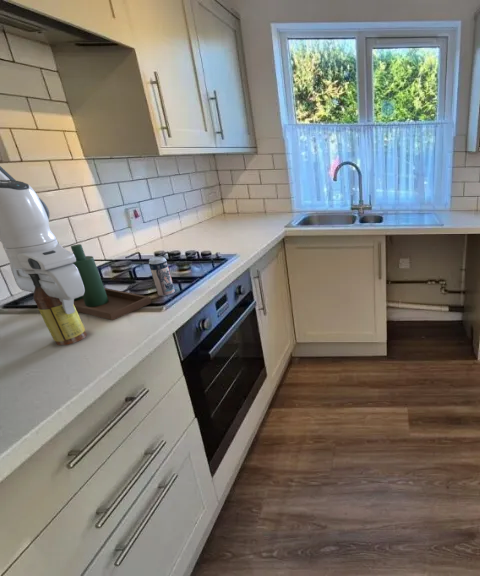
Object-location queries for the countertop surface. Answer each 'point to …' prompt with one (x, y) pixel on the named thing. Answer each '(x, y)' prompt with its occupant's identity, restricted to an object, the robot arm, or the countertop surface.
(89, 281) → the green bottle
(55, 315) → the sauce bottle
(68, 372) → the countertop surface
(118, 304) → the tray
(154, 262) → the beer can
